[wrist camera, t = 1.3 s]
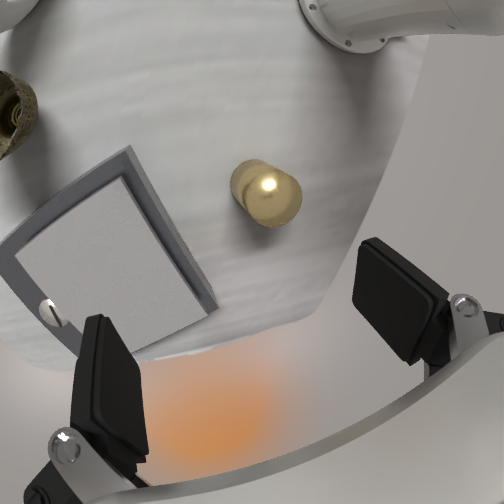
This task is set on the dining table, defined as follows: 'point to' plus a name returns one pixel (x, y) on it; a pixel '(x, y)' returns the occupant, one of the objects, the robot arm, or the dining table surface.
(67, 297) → the scale pan
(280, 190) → the brass weight
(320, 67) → the dining table surface
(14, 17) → the grey rounded slab
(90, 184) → the scale
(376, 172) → the dining table surface
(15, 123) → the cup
